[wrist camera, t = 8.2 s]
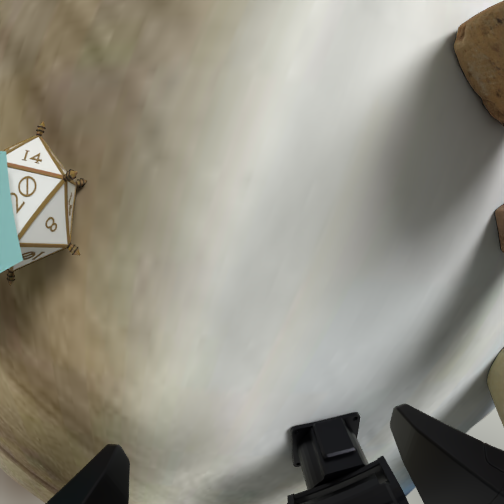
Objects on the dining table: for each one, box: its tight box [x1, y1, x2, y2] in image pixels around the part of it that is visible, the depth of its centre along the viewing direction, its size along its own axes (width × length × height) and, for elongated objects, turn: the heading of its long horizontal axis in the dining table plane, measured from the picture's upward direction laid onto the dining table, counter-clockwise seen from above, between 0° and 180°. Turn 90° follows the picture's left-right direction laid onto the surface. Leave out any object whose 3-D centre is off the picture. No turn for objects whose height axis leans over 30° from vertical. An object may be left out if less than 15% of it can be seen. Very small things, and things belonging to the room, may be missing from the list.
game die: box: [3, 121, 87, 285], centre depth 14 cm, size 9×8×10 cm
